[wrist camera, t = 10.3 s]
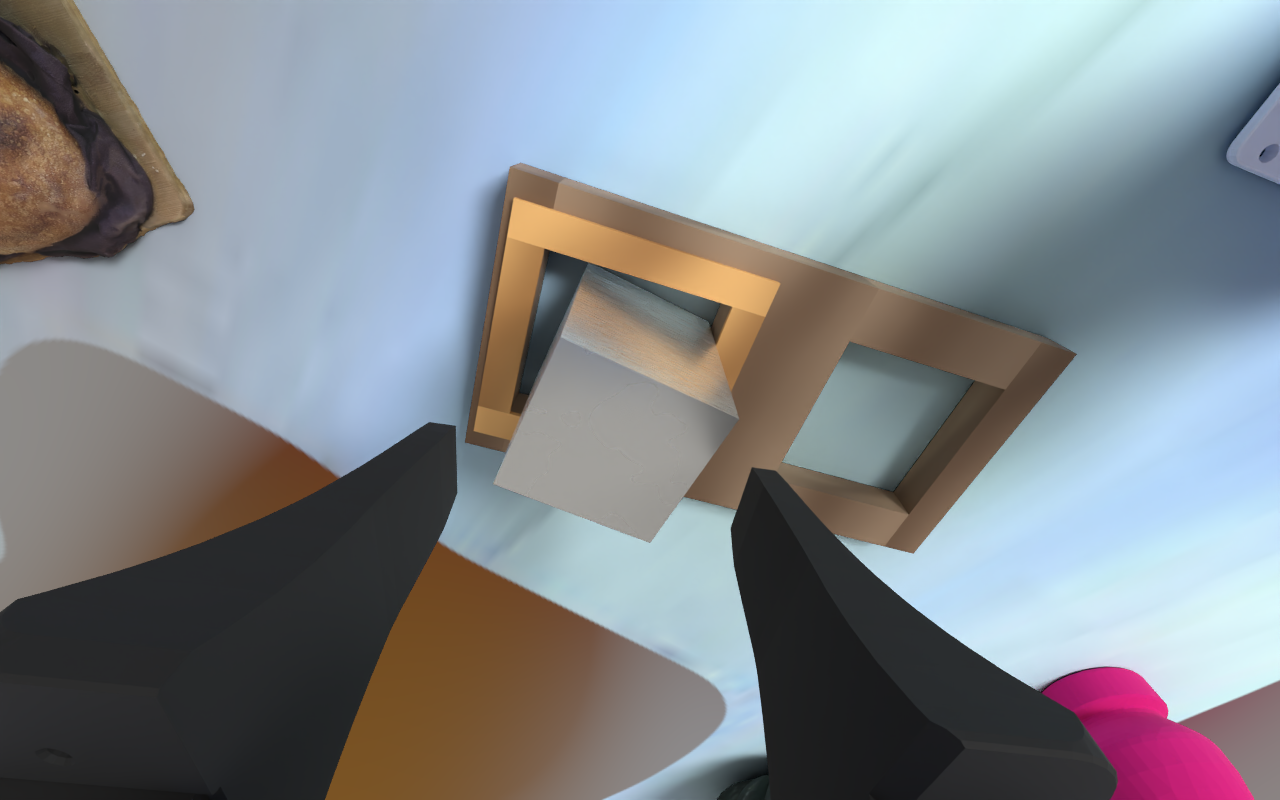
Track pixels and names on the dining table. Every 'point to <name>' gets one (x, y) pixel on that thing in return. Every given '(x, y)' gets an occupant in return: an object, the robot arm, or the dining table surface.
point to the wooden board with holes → (764, 349)
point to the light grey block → (620, 409)
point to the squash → (748, 790)
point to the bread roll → (72, 143)
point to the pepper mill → (1146, 739)
